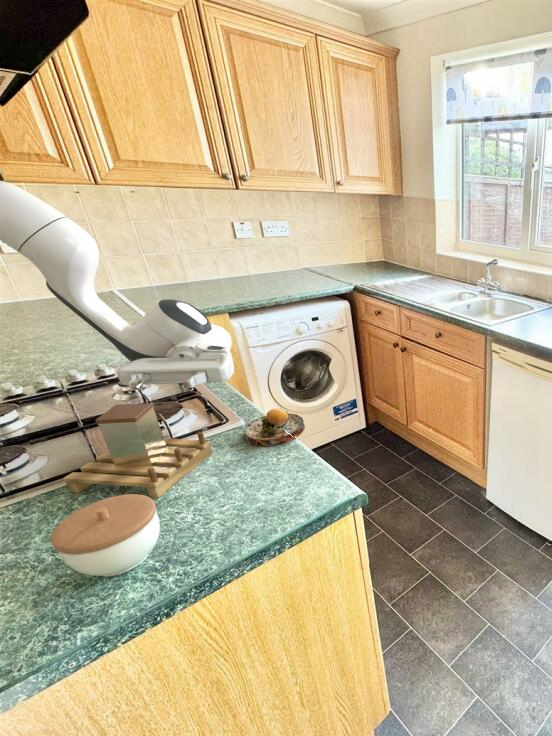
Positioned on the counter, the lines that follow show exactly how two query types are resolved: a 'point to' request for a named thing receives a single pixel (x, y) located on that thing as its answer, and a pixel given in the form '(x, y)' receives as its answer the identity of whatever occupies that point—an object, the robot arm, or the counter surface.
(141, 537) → the trinket box
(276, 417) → the open sandwich
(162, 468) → the rack
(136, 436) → the tea tin
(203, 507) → the counter surface
